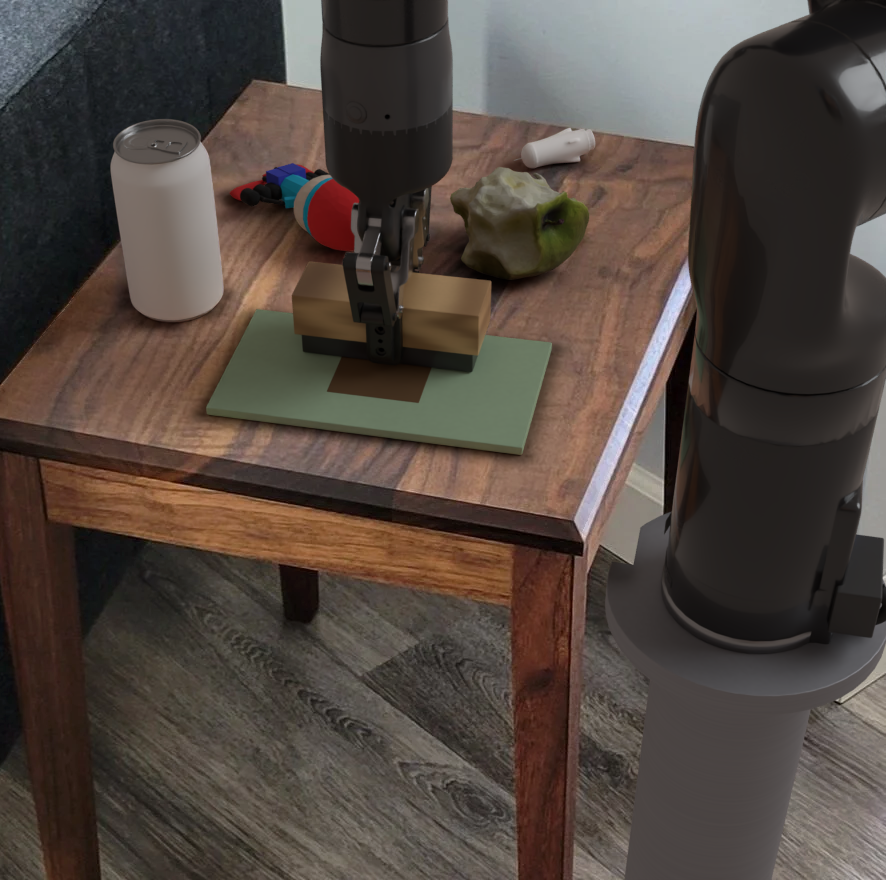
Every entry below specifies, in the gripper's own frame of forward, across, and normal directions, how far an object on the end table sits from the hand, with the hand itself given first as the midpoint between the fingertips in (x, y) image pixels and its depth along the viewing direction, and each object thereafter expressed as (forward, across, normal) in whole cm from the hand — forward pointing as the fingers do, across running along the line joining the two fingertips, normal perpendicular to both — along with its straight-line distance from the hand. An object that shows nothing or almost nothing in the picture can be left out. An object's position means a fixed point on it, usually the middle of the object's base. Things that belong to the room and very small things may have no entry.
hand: (393, 338), depth 105 cm
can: (+1, +4, +16) cm, 17 cm away
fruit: (+1, +12, -6) cm, 14 cm away
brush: (+1, 0, 0) cm, 1 cm away
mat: (+1, -3, 0) cm, 3 cm away
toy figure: (+1, +14, +9) cm, 17 cm away
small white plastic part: (-1, +25, -6) cm, 26 cm away
